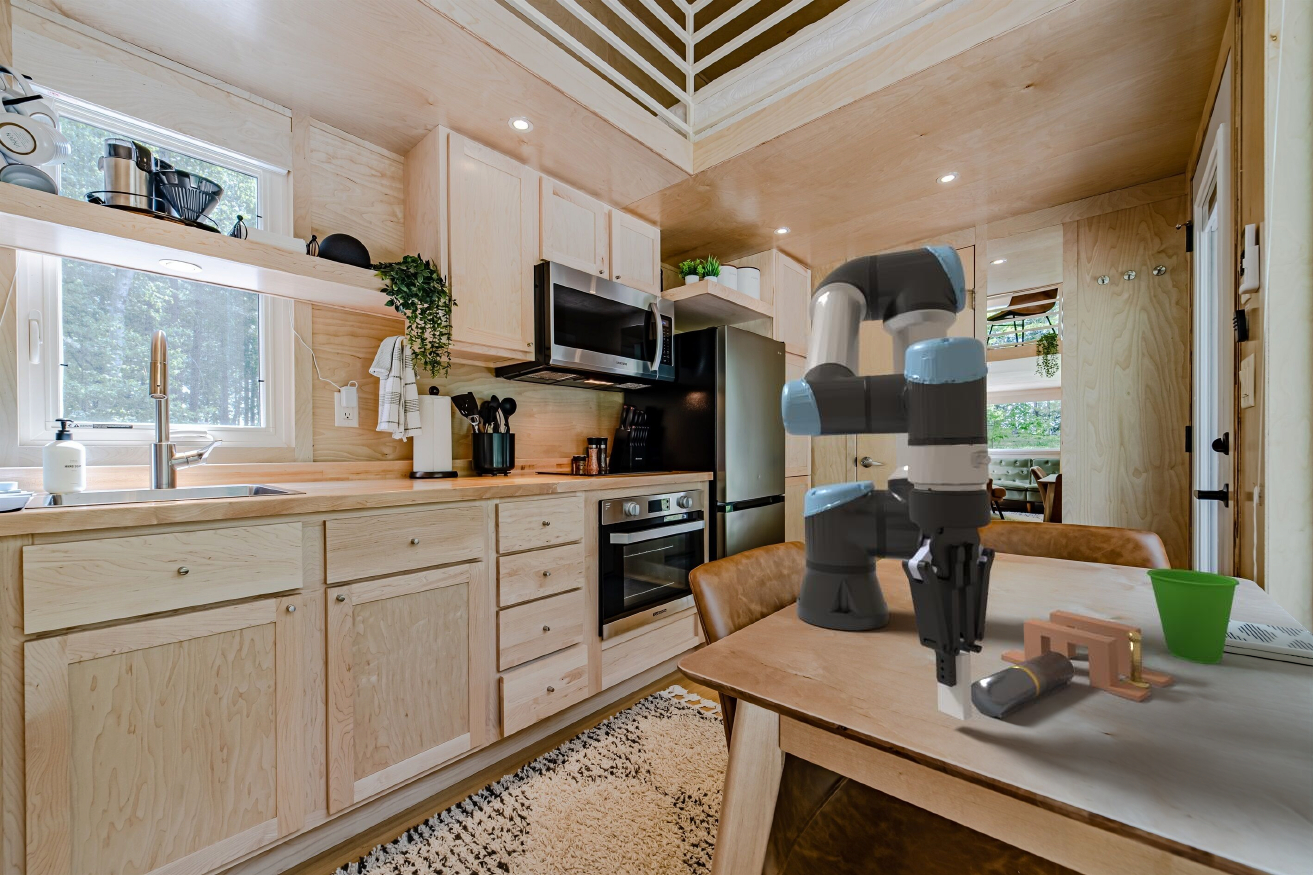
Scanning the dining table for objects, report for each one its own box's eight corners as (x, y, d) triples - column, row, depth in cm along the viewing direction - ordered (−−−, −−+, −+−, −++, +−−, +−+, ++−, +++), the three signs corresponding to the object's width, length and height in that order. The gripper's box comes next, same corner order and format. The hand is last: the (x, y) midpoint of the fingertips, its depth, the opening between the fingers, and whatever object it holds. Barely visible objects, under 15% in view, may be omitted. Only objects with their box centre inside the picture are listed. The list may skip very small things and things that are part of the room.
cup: (1264, 672, 68) (1260, 585, 68) (1180, 667, 70) (1176, 582, 70) (1206, 646, 77) (1203, 569, 77) (1133, 642, 79) (1130, 567, 79)
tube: (1003, 722, 57) (1002, 687, 57) (969, 708, 60) (968, 675, 60) (1075, 686, 65) (1074, 656, 65) (1041, 675, 68) (1040, 647, 68)
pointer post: (1119, 683, 66) (1117, 630, 66) (1128, 679, 67) (1125, 626, 67) (1144, 691, 63) (1142, 636, 64) (1153, 686, 65) (1150, 632, 65)
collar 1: (1001, 659, 74) (999, 616, 74) (1013, 654, 75) (1012, 612, 75) (1138, 701, 61) (1136, 650, 61) (1150, 695, 62) (1148, 645, 63)
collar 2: (1027, 648, 77) (1026, 608, 77) (1039, 644, 79) (1037, 604, 79) (1162, 687, 64) (1161, 638, 65) (1173, 681, 66) (1171, 633, 66)
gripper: (945, 492, 50) (953, 748, 49) (1019, 485, 56) (1027, 711, 56) (876, 488, 56) (882, 714, 56) (950, 482, 63) (956, 685, 62)
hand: (954, 713), depth 56 cm, fingers closed
